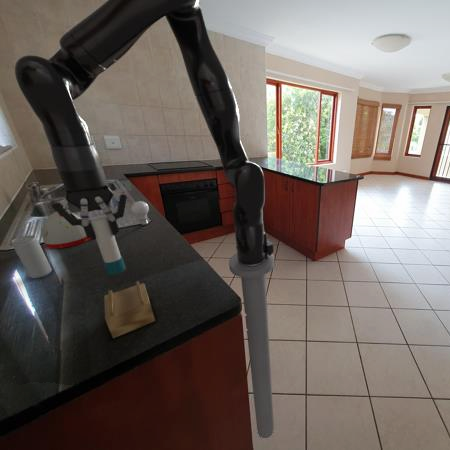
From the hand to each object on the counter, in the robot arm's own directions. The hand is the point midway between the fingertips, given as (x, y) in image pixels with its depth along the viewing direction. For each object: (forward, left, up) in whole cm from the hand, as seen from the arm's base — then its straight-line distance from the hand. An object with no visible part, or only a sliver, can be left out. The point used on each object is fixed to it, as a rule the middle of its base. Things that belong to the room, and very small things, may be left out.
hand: (104, 235), depth 59 cm
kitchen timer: (+14, -48, -17) cm, 53 cm away
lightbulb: (-11, -48, -17) cm, 52 cm away
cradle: (-1, +14, -16) cm, 22 cm away
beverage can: (+19, -23, -17) cm, 34 cm away
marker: (0, 0, -3) cm, 3 cm away
